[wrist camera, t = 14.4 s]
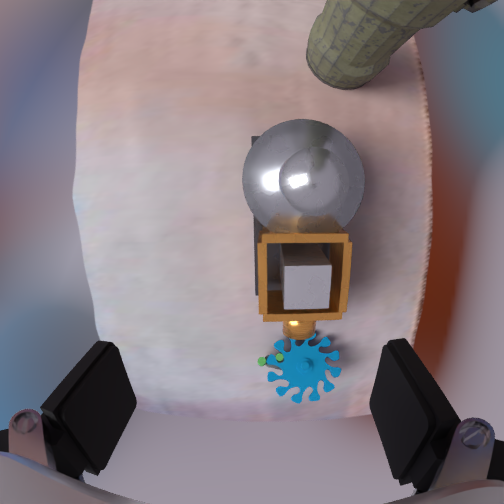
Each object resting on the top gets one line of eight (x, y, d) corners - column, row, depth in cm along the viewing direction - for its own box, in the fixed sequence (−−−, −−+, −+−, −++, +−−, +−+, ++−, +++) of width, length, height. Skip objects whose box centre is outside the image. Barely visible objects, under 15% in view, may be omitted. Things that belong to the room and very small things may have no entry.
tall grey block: (279, 239, 33) (284, 266, 24) (313, 239, 33) (331, 265, 23) (279, 272, 34) (284, 309, 25) (312, 271, 34) (328, 308, 24)
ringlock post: (247, 133, 31) (233, 105, 18) (340, 134, 31) (386, 111, 17) (252, 308, 37) (244, 377, 23) (335, 306, 36) (365, 372, 23)
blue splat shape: (348, 336, 36) (334, 408, 31) (337, 345, 41) (324, 408, 36) (268, 319, 37) (248, 392, 32) (266, 330, 42) (250, 393, 37)
